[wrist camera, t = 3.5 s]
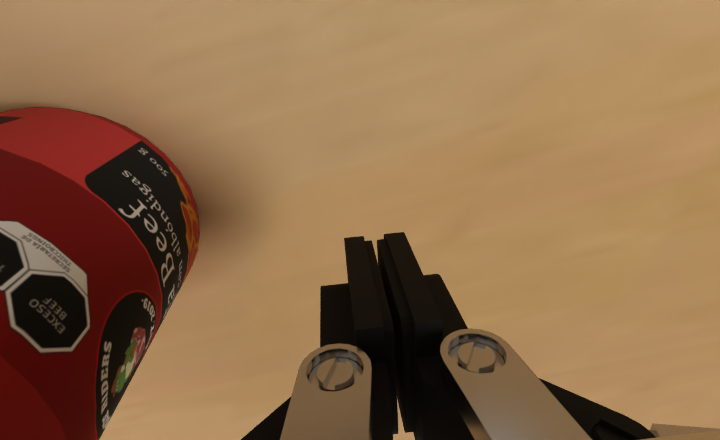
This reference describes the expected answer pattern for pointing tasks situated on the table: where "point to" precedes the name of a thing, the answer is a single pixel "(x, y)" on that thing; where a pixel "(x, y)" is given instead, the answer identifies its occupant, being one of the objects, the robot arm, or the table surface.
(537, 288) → the table surface
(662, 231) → the table surface
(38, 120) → the canned food
